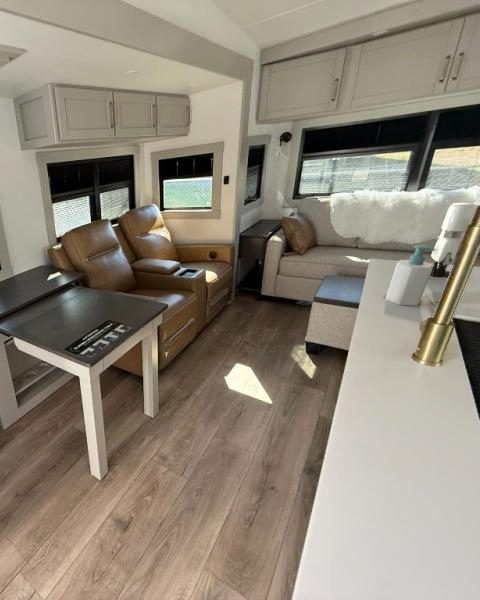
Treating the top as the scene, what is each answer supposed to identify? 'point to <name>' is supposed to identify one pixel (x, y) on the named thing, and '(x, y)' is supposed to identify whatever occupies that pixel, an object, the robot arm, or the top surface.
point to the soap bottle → (410, 279)
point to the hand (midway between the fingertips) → (436, 275)
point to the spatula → (444, 274)
